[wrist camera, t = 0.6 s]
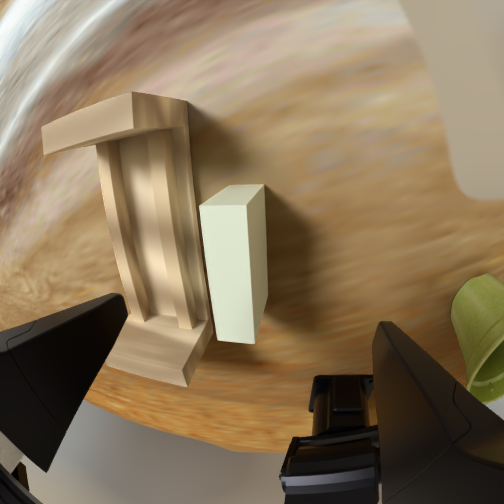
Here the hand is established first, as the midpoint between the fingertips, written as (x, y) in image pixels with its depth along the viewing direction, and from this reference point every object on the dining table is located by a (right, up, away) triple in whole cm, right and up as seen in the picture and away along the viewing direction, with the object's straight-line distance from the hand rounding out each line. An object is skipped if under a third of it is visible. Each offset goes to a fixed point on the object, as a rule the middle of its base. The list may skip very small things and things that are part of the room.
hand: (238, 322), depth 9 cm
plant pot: (+21, -2, +10) cm, 24 cm away
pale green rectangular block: (0, +3, +12) cm, 13 cm away
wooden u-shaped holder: (-8, +4, +13) cm, 16 cm away
